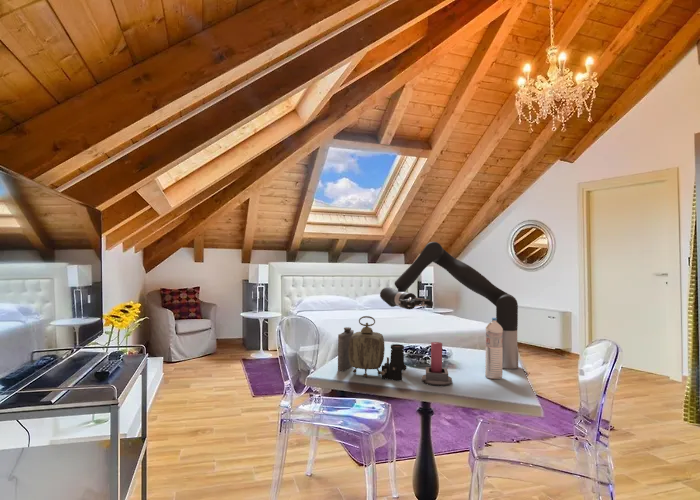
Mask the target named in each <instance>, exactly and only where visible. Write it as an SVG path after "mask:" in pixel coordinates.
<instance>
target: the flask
mask: <svg viewBox="0 0 700 500" xmlns="http://www.w3.org/2000/svg"><path fill="white" fill-rule="evenodd" d="M343 330H344V331H343V332H341V333H339V334H337V335H338V336H337V372H341V373H342V372H345V371H348V370H349V369H351V368H353V367H352V366H351V365H350V362H349V353H348V350H349V341H350V338H351V336H352V335H353V334H354V333H355V332H354V330H353V329H352V327H350V326H348V327H347V326H345V327H343Z"/></svg>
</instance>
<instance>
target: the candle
mask: <svg viewBox="0 0 700 500" xmlns="http://www.w3.org/2000/svg"><path fill="white" fill-rule="evenodd" d="M430 367H431V372H437V373H442V368H443V342H440V341H438V342H437V341H432V342H430Z"/></svg>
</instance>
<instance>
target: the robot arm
mask: <svg viewBox="0 0 700 500" xmlns="http://www.w3.org/2000/svg"><path fill="white" fill-rule="evenodd" d="M432 263H434V264H436V265H437V266H440V268H442V269H444V270H445V271H446V272H448V273H449V275H451V276H452V277H453V278H454V279H456V281H458V282H459V283H460V284H462V286H465V287H466V288H467V289H469V290H470V291H471V292H474V293H475V294H478V295H479V296H481V297H484V298H485V299H487V300H488V301H489V302H490V303H492V304H493V305H494V306H495V308H496V309H495V316H496V317H495V318H497V321H496V322H498V323H499V324H500V325H501V326H502V328H503V335H502V347H503V360H502V361H503V362H502V363H503V364H502V365H503V366H502V367H503V368H502V369H506V370H507V369H508V370H509V369H510V370H514V369H519V347H518V327H519V326H518V325H519V324H518V323H519V322H518V321H519V320H518V319H519V317H518V316H519V315H518V313H519V311H518V310H519V305H518V301H517V299H516V297H514V296H513V295H511V294H509V293H508V292H506V291H504V290H502V289H500V288H499V287H498V286H496V285H494V284H493V283H492V282H491V281H490V280H489V279H488V278H487V277H485V275H483V274H482V273H480V272H479V271H478V270H476V269H475V268H474V267H472V266H471V265H469V264H467V263H465V262H463V261H461V260H459V259H458V258H455V257H454V256H453V255H451V254H450V253H449V252H447V251H446V249H444V248H443V247H442V245H441V244H440V242H437V241H430V242H428V243H427V244H426V245H425V247H424V248H423V249H422V251H421V252H420V254H419V255H418V257H417V258H416V259H415V260H414V261H413V262H412V264H411V265H409V266H408V268H407V269H406V270H405V271H404V272H402V274H401V275H400V276H399V277H398V278H397V279H396V280H395V281H394V285H395V288H397V289H395V288H393V287H390V286H389V287H388V286H386V287H384V288H382V289H381V290H380V292H379V293H380V294H379V297H380V299H381V300H382V301H383V302H385V303H386V305H388V306H389V307H391V308H395V307H398V308H402V309H406V310H413V309H414V308H416V307H424V306H427V307H433V306H434V302H433V300H432V299H428V298H420V297H417V296H416V295H415V294H414V293H411V292H407V290H408V289H409V288H410V287H411V286H412V285H413V284H414V283H415V282H416V281H417V279H418V278H419V276H420V275H421V274H422V273H423V271H424V270H425V269H426V268H427V267H428V266H430V264H432Z"/></svg>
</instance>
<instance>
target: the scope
mask: <svg viewBox="0 0 700 500" xmlns="http://www.w3.org/2000/svg"><path fill="white" fill-rule="evenodd" d="M390 349H391V350H390V357H386V362H385V363H383V364H381V370H380V371H381V372H380V375H381V380H390V381H391V380H392V381H394V382H395V381H396V382H400V381H403V380H402V379H403V371H406V370H407V365H406V364H405V356H404V349H405V345H403V344H399V343H393V344H391V345H390Z"/></svg>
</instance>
